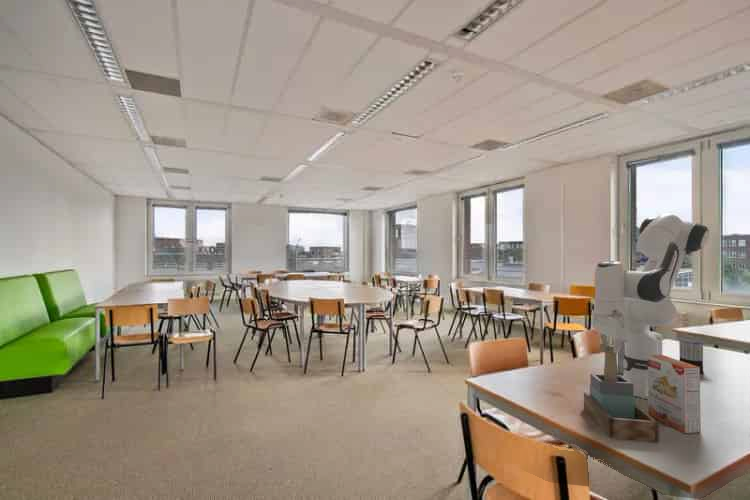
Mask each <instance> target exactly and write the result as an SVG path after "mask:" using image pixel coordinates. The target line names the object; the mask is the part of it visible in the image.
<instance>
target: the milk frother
mask: <svg viewBox="0 0 750 500" xmlns="http://www.w3.org/2000/svg"><path fill="white" fill-rule="evenodd" d="M678 341H679V342H678V343H679V361H682V362H685V363H688V364H691V365H694V366H698V367H700V375H702V374H704V373H705V372H704V343H705V342H704V341H703V340H699V339H694V338H687V337H685V338H682V337H681V338H678Z"/></svg>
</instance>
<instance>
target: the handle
mask: <svg viewBox="0 0 750 500" xmlns="http://www.w3.org/2000/svg"><path fill="white" fill-rule="evenodd" d="M613 345H614V344H609V343H608V344H601V343H600V344H599V349H600V350H602V351H603V352H604V369H603V374H604V381H613V382H617V381H618V375H619V374H618V373H619V371H618V353H614V352H613V351H612V347H613ZM621 351H622V347H620V352H621Z"/></svg>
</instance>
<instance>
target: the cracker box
mask: <svg viewBox="0 0 750 500" xmlns="http://www.w3.org/2000/svg"><path fill="white" fill-rule="evenodd" d="M647 411H648V412H647V414H648V415H650V416H651V417H652V418H653V419H654V418H655V420H659V421H660V422H662V423H664V424H666V425H668V426H670V427H671V428H672V429H675V430H677V431H678V432H681V433H682V434H684V435H686V434H700V433H701V430H702V429H701V428H702V427H701V423H702V422H701V374H700V367H698V366H694V365H691V364H688V363H685V362H682V361H680V359H676V358H672V357H669V356H667V355H663V354H662V355H649V356H648V399H647Z"/></svg>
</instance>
